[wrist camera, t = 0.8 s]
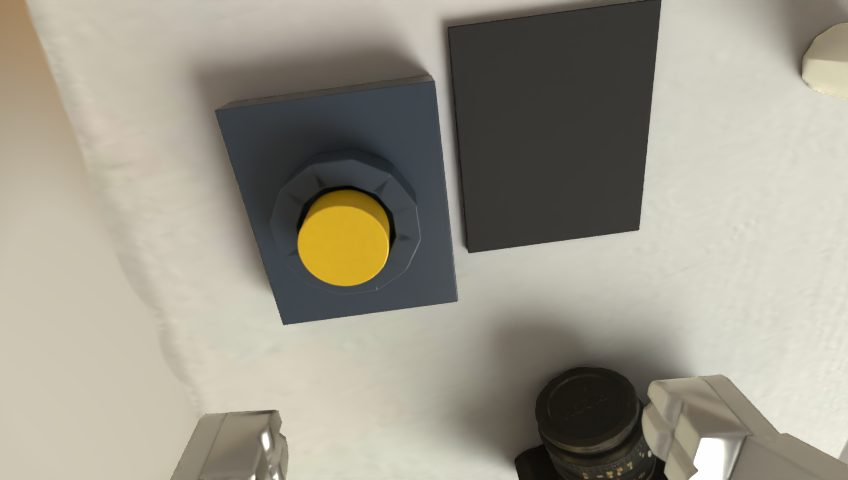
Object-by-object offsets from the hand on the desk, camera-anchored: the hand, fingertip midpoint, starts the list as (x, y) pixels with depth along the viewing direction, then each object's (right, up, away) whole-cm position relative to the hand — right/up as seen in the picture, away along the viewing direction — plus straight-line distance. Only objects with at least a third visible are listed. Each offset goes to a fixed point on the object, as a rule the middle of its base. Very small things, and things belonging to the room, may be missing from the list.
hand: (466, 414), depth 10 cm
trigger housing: (-5, +6, +15) cm, 17 cm away
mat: (+6, +9, +14) cm, 18 cm away
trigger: (-5, +4, +12) cm, 14 cm away
